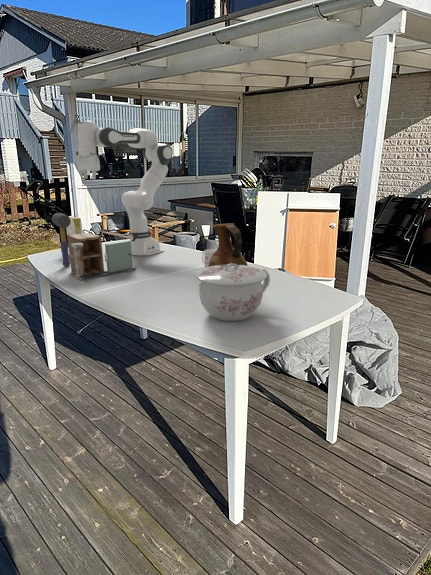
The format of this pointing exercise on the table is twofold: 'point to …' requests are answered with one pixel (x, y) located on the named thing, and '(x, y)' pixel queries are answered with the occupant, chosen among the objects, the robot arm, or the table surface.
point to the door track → (104, 274)
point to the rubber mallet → (62, 234)
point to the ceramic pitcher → (227, 246)
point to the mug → (207, 256)
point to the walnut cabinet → (85, 254)
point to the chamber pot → (231, 290)
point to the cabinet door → (118, 256)
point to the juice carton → (74, 226)
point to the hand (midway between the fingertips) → (89, 178)
